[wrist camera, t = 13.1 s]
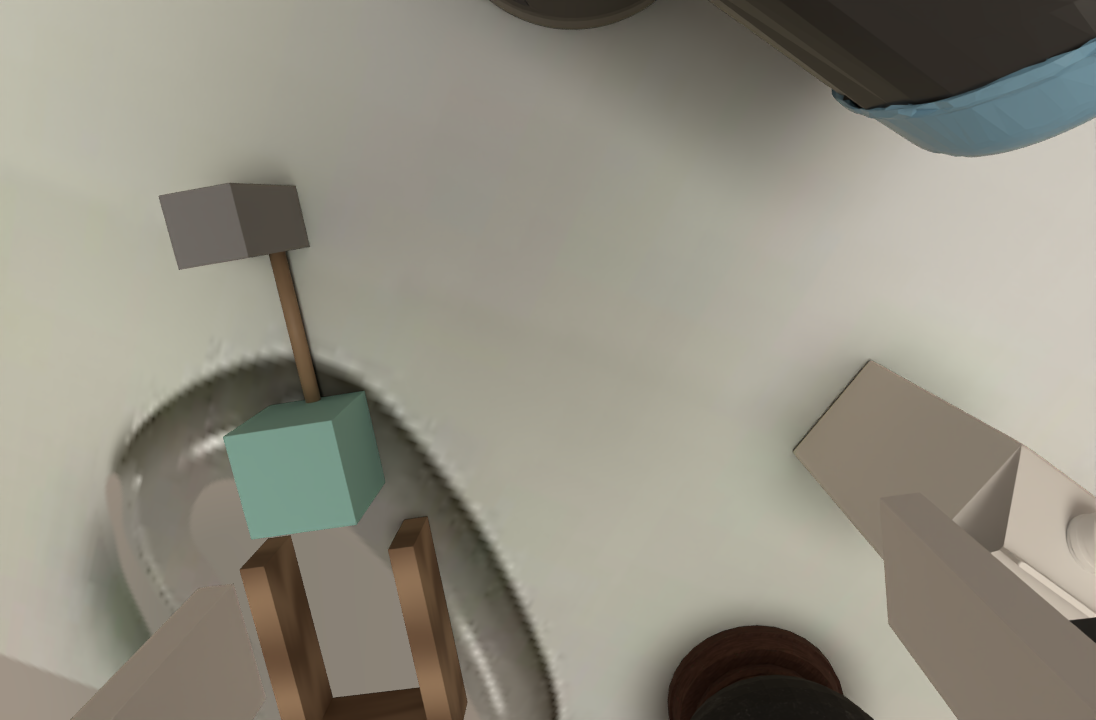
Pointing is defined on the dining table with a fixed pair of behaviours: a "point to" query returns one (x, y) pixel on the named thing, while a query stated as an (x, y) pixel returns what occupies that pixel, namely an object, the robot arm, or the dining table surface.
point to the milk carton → (956, 482)
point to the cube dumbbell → (314, 423)
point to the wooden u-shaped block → (295, 654)
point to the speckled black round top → (758, 680)
